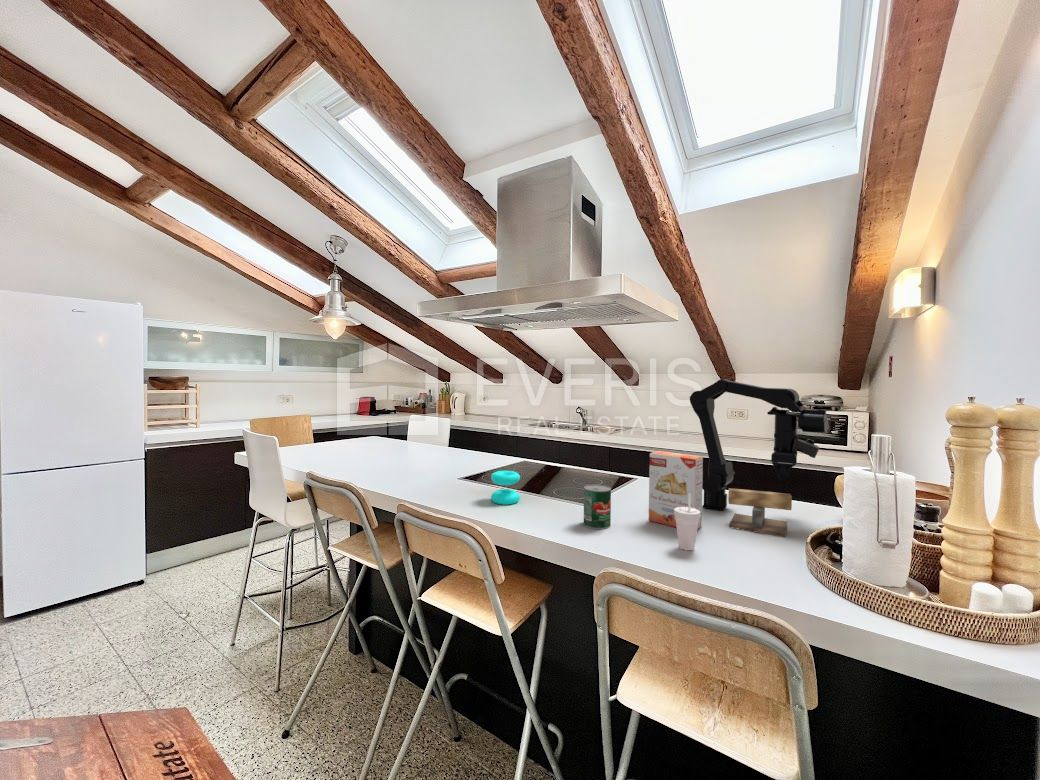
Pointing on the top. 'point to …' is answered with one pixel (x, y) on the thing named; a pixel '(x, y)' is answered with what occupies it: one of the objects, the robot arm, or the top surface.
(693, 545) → the smoothie
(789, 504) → the oak bar
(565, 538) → the top surface
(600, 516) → the canned tomato
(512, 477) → the donuts
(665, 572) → the top surface
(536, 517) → the top surface
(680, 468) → the cracker box
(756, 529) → the stand
